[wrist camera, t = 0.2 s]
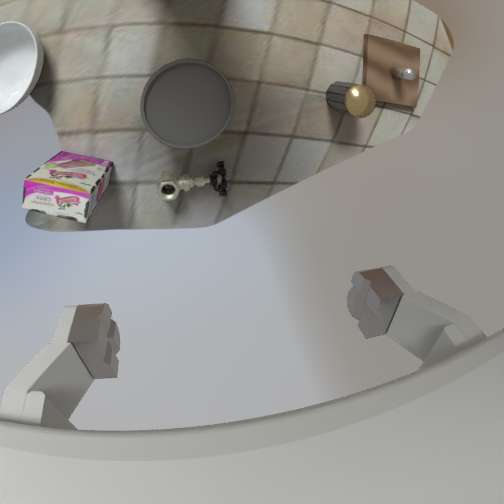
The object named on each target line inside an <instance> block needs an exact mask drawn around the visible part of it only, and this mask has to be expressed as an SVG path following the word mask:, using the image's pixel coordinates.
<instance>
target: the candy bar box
mask: <svg viewBox="0 0 504 504" xmlns="http://www.w3.org/2000/svg"><path fill="white" fill-rule="evenodd" d="M112 165H113V162H111V161H106V160H102V159H97V158H92V157H87V156H83V155H78V154H73V153H68V152H63V151H61V152H59V153H58V154H57V155H55V156H54V157H53V158H51V159H50V160H48V161H47V162H46V163H44V164H43V165H42V166H40V167H39V168H38V169H37V170H36V171H34V172H33V173H32V174H30V175H29V176H28V177H26V178H25V179H24V191H23V206H22V207H23V209H28V210H32V211H36V212H40V213H44V214H49V215H53V216H57V217H61V218H65V219H69V220H74V221H78V222H82V223H86V222H87V220H88V219H89V217H90V215H91V213H92V211H93V210H94V208H95V206H96V204H97V202H98V201H99V199H100V198H101V196H102V194H103V193H104V191H105V189H106V188H107V186H108V183H109V178H110V174H111V169H112Z"/></svg>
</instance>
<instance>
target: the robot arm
mask: <svg viewBox="0 0 504 504" xmlns="http://www.w3.org/2000/svg"><path fill="white" fill-rule="evenodd" d="M351 282H352V284H353V285H354V286H353V287H352V288H351V289H350V291H349V292H348V296H347V305H348V309H349V311H350V313H351V315H352V317H354V318H356V319H358V320H359V323H358V327H359V328H360V330H361V331H362V333H363V334H364V336H365V338H366V339H367V338H372V337H376V336H380V335H384V334H386V336H388V337H390V338H391V339H392V340H394V341H395V342H397V343H398V344H400V345H401V346H402V347H404V348H405V349H407V350H408V351H409V352H411V353H412V354H414V355H415V356H417V357H418V358H419V359H421V360H422V361H424V362H423V364H422V365H421V367H420V368H419V370H418V371H416V372H413V373H411V374H409V375H406V376H403V377H401V378H398V379H396V380H393V381H390V382H387V383H385V384H382V385H379V386H376V387H373V388H370V389H367V390H364V391H361V392H358V393H355V394H351V395H348V396H345V397H341V398H338V399H335V400H331V401H327V402H324V403H320V404H316V405H313V406H308V407H305V408H300V409H296V410H292V411H288V412H283V413H279V414H273V415H268V416H264V417H258V418H253V419H247V420H241V421H235V422H229V423H221V424H214V425H206V426H197V427H187V428H175V429H161V430H140V431H94V430H78V429H77V428H76V427H75V426H74V425H73V424H72V423H70V421H69V420H68V419H69V418H70V416H71V414H72V413H73V411H74V410H75V408H76V407H77V405H78V403H79V402H80V400H81V399H82V397H83V396H84V394H85V393H86V391H87V389H88V388H89V387H90V385H91V384H92V382H93V381H94V380H93V379H101V378H102V379H103V378H117V372H118V362H119V361H118V359H117V357H116V354H117V352H118V351H119V350H120V336H119V330H118V327H117V324H116V322H115V321H113V320H112V319H111V315H112V312H111V309H110V307H109V305H108V304H106V303H104V304H88V305H77V306H66V307H64V309H63V311H62V314H61V317H60V320H59V323H58V326H57V329H56V333H55V336H54V339H53V343H49V344H48V345H46V346H45V347H44V349H43V350H41V352H40V353H39V354H38V355H37V356H36V357H35V358H34V359H33V360H32V361H31V362H30V363H29V364H28V365H27V366H26V367H25V368H24V369H23V370H22V371H21V372H20V373H19V374H18V375H17V376H16V377H15V378H14V379H13V380H12V382H11V383H10V384H9V385H8V386H7V387H6V389H5V393H4V397H3V401H2V405H1V409H0V504H504V329H502V330H500V331H499V332H497V333H495V334H493V335H491V336H489V337H488V338H487V336H486V335H485V334H484V333H483V331H482V330H481V329H480V328H479V327H478V325H477V324H476V323H475V322H474V321H473V319H472V318H471V317H470V316H469V315H467V314H465V313H462V312H461V311H459V310H456V309H454V308H452V307H450V306H448V305H446V304H444V303H442V302H440V301H438V300H436V299H434V298H432V297H430V296H427V295H425V294H423V293H421V292H416V291H415V290H414V289H413V288H412V287H411V286H410V285H409V283H408V282H407V281H406V280H405V279H404V278H403V276H402V275H401V274H400V273H399V272H398V271H397V270H396V269H395V268H394V267H393V266H391V265H390V266H385V267H380V268H375V269H370V270H364V271H358V272H355V273H354V274H353V276H352V280H351Z"/></svg>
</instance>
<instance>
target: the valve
mask: <svg viewBox="0 0 504 504" xmlns="http://www.w3.org/2000/svg"><path fill="white" fill-rule="evenodd" d="M217 167H219V170H217V171H214V172H213V173H212V174H211V175H209V178H204V176H196V178H195V179H193V177H189V174H185V175H183V177H178V175H177V174H176V173H175V171H174V170H169V171H163V173H162V175H161V177H160V178H159V180H158V182H157V188H158V191H157V193H158V195H159V196H160V197H161V198H162V199H163V200H164V201H170V200H175V199H176V197H177V195H178V193H179V190H184V191H190V188H191V187H193V186H194V185H197V187H200V186H205V183H210V185H211V186H212V185H213V189H214V190H215V191H217V192H219V195H220V196H227V191H226V187H227V181H226V180H225V175H226V169H224V161H219V162H218V163H217ZM187 183H188V184H187ZM167 184H170V185H167ZM216 185H218V188H216Z"/></svg>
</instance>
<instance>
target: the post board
mask: <svg viewBox="0 0 504 504" xmlns="http://www.w3.org/2000/svg"><path fill="white" fill-rule="evenodd" d="M419 65H420V49H419V48H416V47H413V46H410V45H406V44H403V43H400V42H396V41H393V40H389V39H385V38H381V37H377V36H373V35H369V34H365V35H364V57H363V81H362V85H364V86H367V87H368V88H370V89H371V90H372V92H373V93H374V96H375V101H381V102H388V103H394V104H400V105H406V106H412V107H416V105H417V95H418V82H419ZM392 67H403V68H411V69H414V70H415V72H416V78H415V79H414V80H408V79H402V78H396V77H393V76H392V75H391V73H390V70H391V68H392Z"/></svg>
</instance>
